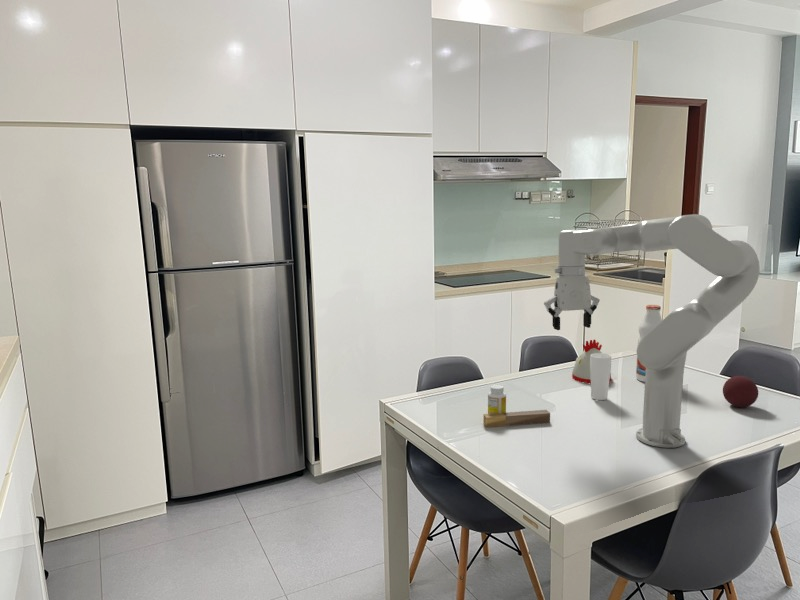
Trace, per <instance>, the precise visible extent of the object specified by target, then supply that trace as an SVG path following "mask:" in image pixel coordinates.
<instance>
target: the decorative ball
mask: <svg viewBox="0 0 800 600" xmlns="http://www.w3.org/2000/svg"><path fill="white" fill-rule="evenodd" d="M722 394H723V397H724V399H725V401H726V402H727V403H729V404H730V405H731V406H734V407H736V408H747V407H750V406H752V405H754V403H755V402H756V401H757V400H758V397H759V389H758V386H757V384H756V383H755V382H754V380H752V379H751V378H749V377H747V376H744V375H735V376H731V377H729V378H728V379H727V380H726V381H725V382H724V384H723V386H722Z"/></svg>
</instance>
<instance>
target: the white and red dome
mask: <svg viewBox="0 0 800 600" xmlns="http://www.w3.org/2000/svg"><path fill="white" fill-rule="evenodd" d="M582 347H583V348H582V349H583V351H582V352H581V353H580V354H579V355H578V356H577V357H576V358H575V361H574V362H575V363H574V365H573V368H572V376H571V377H572V380H574V381H576V382H579V383H582V382H584V383H583V384H588V383H590V385H591V378H590V356H591V354H594V353H603V352H602V351H601V349H602V347H603V345H602V344H600V342H598V341H597V340H596V339H593V340H592V339H590V340H589V341H588V340H586V341H585V344H582ZM611 381H612V372H610V379H609V383H610V382H611Z"/></svg>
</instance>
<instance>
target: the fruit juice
mask: <svg viewBox="0 0 800 600" xmlns="http://www.w3.org/2000/svg"><path fill="white" fill-rule="evenodd" d="M661 308H662V307H661V305H658V304H646V306H645V310H646V313H645V315H644V317H643V319H642V322H641V323H640V324H639V325H638V333H639V338H638V341H637V345H636V346H637V347H638V344H639V342H640V341H641V340H642V339H643V338H644V337H645V336H646V335H647V334H648V333H649V332H650V331H652V330H653V329H654V328H655V327H656V326H657V325H658V324H659V323H660V322H661V321H663V318H662V315H661V313H660V312H661ZM635 369H636V370H635V371H636V372H635V377H636V379H637V381H640V382H643V383H645V375H646V367H644V366H643V365H642V364H641V363H640V362H639V360H638V358H637V357H636V368H635Z"/></svg>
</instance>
